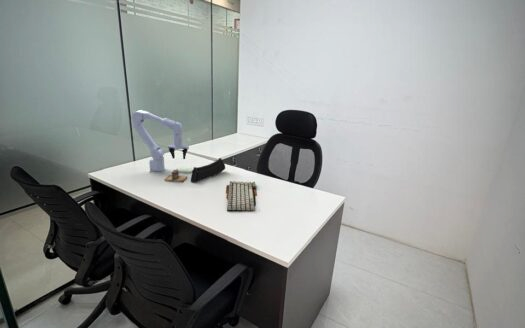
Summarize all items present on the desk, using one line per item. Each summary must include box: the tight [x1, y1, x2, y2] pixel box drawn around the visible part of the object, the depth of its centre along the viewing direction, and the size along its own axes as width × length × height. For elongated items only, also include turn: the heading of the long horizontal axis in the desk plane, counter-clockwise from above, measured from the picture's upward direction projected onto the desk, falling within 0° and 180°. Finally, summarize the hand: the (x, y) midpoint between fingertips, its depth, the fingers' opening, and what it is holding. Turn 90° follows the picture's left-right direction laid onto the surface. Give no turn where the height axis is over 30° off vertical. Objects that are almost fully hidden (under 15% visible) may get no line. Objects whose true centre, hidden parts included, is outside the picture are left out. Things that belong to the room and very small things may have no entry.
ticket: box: [175, 166, 194, 174], centre depth 188 cm, size 12×9×1 cm
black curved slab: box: [190, 157, 226, 183], centre depth 179 cm, size 17×3×30 cm
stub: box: [164, 169, 188, 183], centre depth 171 cm, size 12×8×6 cm, turn 87°
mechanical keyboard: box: [225, 180, 261, 213], centre depth 154 cm, size 38×19×3 cm, turn 6°
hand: (178, 158), depth 187 cm, fingers open, 7 cm apart
